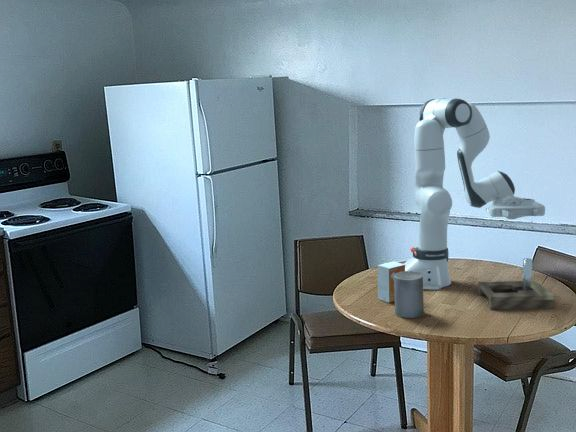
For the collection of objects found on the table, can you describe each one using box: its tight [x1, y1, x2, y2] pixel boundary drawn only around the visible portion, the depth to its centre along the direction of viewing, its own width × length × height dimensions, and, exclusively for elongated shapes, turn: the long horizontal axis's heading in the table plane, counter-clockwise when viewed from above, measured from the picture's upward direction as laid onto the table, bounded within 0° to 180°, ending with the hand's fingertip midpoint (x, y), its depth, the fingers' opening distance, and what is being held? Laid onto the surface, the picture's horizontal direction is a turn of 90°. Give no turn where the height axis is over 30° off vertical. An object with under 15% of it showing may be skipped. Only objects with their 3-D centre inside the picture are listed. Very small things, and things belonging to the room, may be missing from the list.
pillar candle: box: [394, 271, 425, 319], centre depth 215 cm, size 10×10×15 cm
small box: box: [377, 260, 405, 303], centre depth 231 cm, size 8×6×13 cm
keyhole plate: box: [478, 280, 555, 311], centre depth 223 cm, size 21×17×4 cm
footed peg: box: [522, 257, 533, 290], centre depth 222 cm, size 6×6×15 cm
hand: (522, 214), depth 235 cm, fingers open, 8 cm apart
